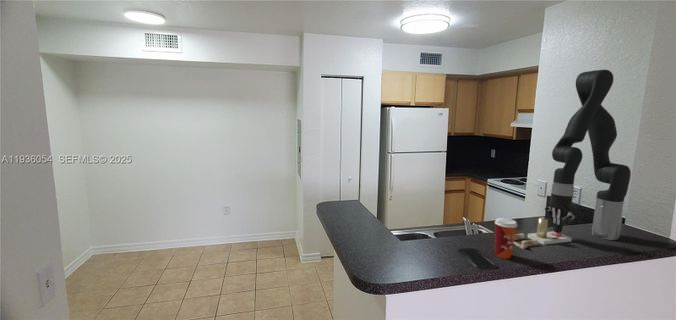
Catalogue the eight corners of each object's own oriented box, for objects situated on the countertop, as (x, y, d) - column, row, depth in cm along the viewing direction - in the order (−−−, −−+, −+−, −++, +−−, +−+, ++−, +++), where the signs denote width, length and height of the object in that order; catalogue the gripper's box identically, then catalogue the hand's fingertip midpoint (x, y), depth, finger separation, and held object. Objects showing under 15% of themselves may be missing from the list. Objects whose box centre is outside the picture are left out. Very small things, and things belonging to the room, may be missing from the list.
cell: (541, 234, 135) (543, 216, 134) (548, 237, 132) (550, 218, 130) (534, 235, 134) (536, 216, 133) (541, 238, 131) (543, 219, 129)
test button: (556, 238, 137) (557, 230, 136) (562, 240, 134) (563, 233, 134) (550, 238, 136) (551, 231, 136) (557, 241, 133) (558, 233, 133)
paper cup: (505, 261, 115) (509, 225, 113) (487, 253, 122) (490, 219, 120) (519, 257, 119) (522, 222, 117) (500, 249, 125) (503, 216, 123)
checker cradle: (553, 236, 140) (554, 230, 139) (570, 243, 132) (571, 237, 132) (527, 239, 136) (527, 233, 136) (543, 246, 129) (544, 240, 128)
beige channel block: (522, 240, 135) (522, 233, 135) (537, 247, 128) (537, 240, 128) (508, 241, 134) (509, 234, 133) (523, 248, 126) (523, 241, 126)
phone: (476, 248, 125) (498, 266, 110) (475, 250, 125) (498, 269, 110) (457, 248, 124) (477, 266, 109) (457, 251, 124) (476, 269, 110)
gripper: (584, 196, 127) (579, 237, 129) (554, 189, 139) (550, 226, 142) (570, 197, 125) (564, 238, 127) (541, 189, 138) (537, 227, 140)
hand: (557, 232), depth 135 cm, fingers closed
